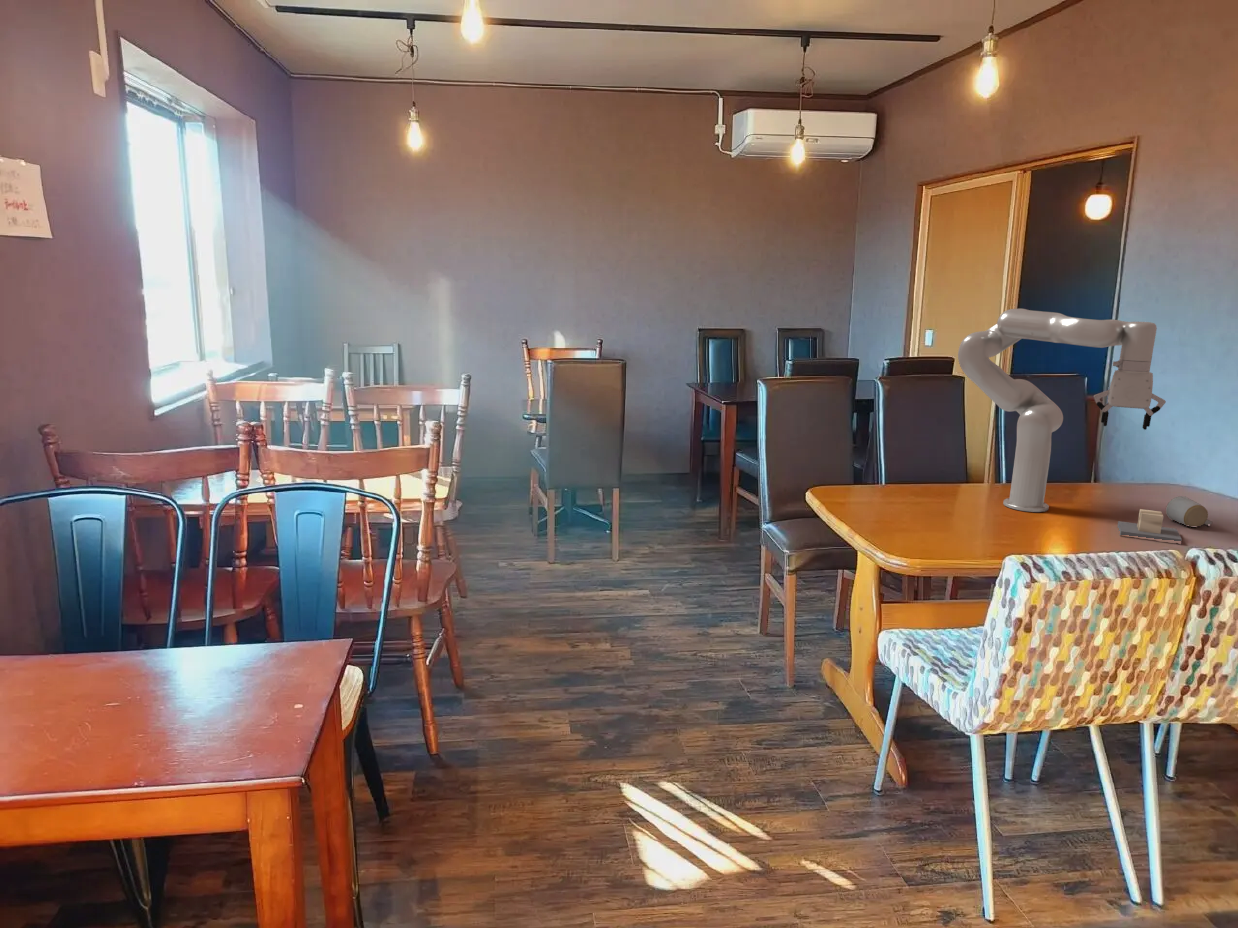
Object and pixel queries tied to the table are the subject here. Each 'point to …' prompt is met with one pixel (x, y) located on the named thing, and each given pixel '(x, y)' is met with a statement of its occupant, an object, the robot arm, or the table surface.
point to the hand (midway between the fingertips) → (1124, 427)
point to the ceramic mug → (1187, 512)
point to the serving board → (1133, 530)
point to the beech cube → (1150, 521)
